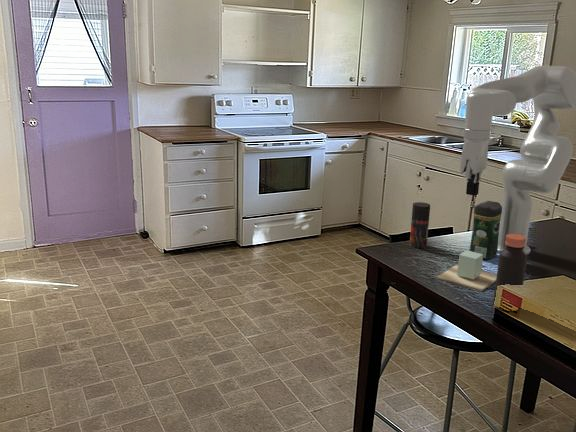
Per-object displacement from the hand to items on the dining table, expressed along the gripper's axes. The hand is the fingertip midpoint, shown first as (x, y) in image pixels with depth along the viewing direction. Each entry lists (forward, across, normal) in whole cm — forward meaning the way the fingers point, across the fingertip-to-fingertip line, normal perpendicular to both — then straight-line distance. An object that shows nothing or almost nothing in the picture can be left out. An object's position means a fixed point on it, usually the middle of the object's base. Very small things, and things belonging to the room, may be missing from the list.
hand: (472, 194), depth 170 cm
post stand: (+24, +8, +4) cm, 26 cm away
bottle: (+24, +21, +20) cm, 37 cm away
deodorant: (+25, -9, -21) cm, 34 cm away
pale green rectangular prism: (+23, +8, +4) cm, 25 cm away
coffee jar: (+25, -14, 0) cm, 29 cm away
